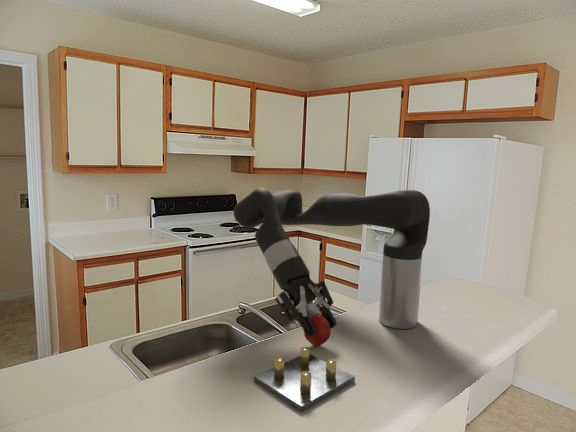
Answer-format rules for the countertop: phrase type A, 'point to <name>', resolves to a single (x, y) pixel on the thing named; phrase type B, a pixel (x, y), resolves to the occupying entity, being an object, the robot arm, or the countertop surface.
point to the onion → (319, 330)
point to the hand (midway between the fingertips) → (323, 330)
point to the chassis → (304, 379)
